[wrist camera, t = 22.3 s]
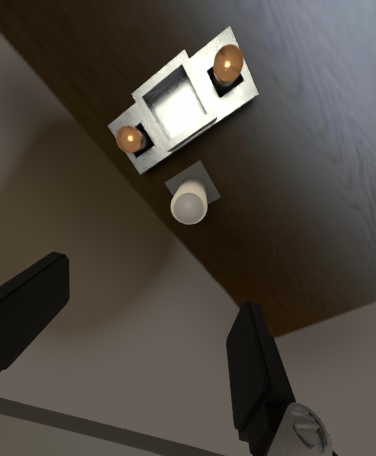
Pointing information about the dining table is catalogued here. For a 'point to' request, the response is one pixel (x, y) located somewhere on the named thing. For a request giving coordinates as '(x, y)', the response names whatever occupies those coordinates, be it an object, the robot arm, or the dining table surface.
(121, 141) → the plunger
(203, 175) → the mat
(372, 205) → the dining table surface
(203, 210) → the cylinder
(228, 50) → the plunger
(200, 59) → the housing
